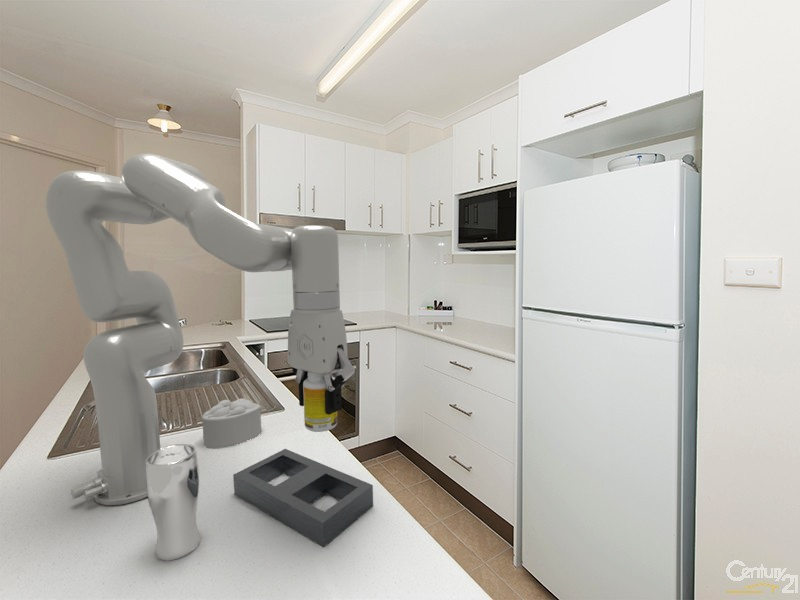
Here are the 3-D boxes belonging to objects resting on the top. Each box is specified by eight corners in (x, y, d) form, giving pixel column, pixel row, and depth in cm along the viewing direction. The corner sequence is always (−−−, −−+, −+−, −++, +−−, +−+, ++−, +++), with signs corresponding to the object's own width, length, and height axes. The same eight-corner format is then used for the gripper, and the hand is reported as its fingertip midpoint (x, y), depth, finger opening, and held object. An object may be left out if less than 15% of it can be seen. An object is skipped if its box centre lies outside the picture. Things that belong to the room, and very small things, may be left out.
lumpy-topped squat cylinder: (266, 434, 99) (264, 401, 98) (214, 453, 89) (212, 417, 88) (245, 423, 106) (244, 392, 105) (196, 440, 96) (193, 406, 95)
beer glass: (211, 529, 64) (205, 442, 62) (190, 562, 57) (182, 465, 55) (168, 531, 63) (161, 443, 62) (141, 564, 57) (132, 467, 55)
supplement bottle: (339, 431, 64) (337, 371, 63) (304, 435, 63) (302, 374, 62) (336, 417, 70) (334, 362, 68) (304, 421, 68) (302, 364, 67)
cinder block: (323, 547, 59) (322, 522, 59) (234, 494, 73) (233, 474, 73) (373, 506, 69) (372, 485, 69) (286, 466, 83) (285, 448, 82)
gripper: (265, 301, 66) (270, 404, 68) (338, 307, 56) (341, 427, 58) (299, 297, 72) (303, 391, 74) (371, 302, 62) (373, 411, 64)
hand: (320, 406), depth 66 cm, fingers closed on supplement bottle, 5 cm apart
